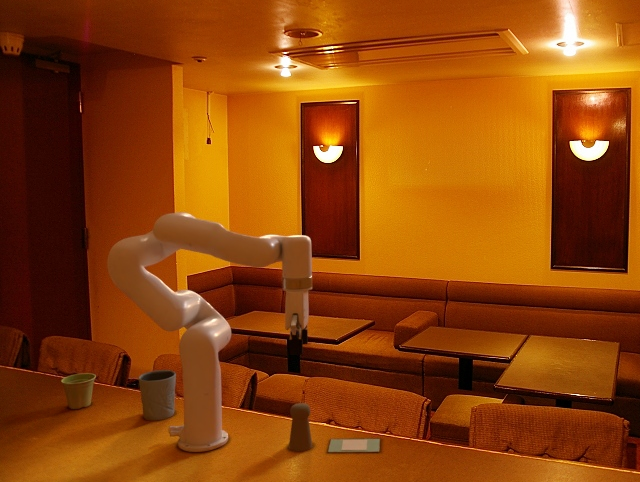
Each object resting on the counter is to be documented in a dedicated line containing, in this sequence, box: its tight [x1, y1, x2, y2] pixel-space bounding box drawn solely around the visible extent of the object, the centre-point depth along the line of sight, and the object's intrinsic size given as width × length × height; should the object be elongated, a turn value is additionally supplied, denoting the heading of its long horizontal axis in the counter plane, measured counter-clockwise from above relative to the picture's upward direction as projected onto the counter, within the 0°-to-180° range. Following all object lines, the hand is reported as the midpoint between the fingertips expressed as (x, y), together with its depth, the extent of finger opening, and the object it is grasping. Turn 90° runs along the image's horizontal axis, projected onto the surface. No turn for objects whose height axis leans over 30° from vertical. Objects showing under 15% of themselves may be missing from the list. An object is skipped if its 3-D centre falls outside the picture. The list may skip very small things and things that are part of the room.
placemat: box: [327, 438, 381, 454], centre depth 157 cm, size 13×8×1 cm, turn 91°
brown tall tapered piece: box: [288, 402, 313, 452], centre depth 157 cm, size 6×6×11 cm
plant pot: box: [60, 372, 97, 410], centre depth 186 cm, size 9×9×9 cm
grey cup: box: [138, 369, 177, 421], centre depth 178 cm, size 10×10×12 cm
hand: (299, 349), depth 157 cm, fingers open, 9 cm apart
